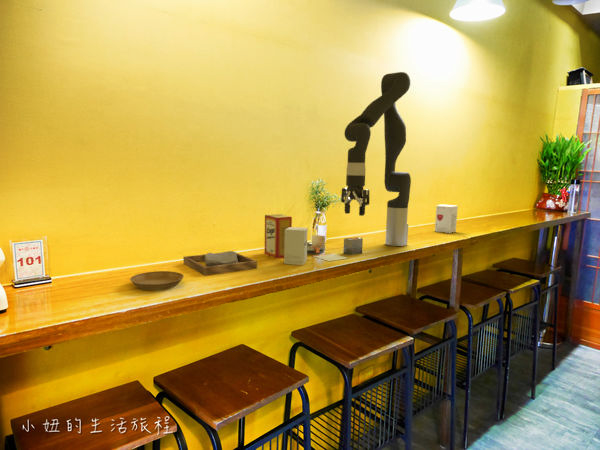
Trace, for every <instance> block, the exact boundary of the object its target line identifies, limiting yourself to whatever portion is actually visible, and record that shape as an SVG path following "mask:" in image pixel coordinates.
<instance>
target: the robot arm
mask: <svg viewBox="0 0 600 450" xmlns="http://www.w3.org/2000/svg"><path fill="white" fill-rule="evenodd" d="M380 82H381V84H380V89H381V90H380V91H381V95H380V96H378V97H377V98H375V99H374V100H373V101H372V102H370V103H369V104H368V105H367V106H366V107H365V109H364V110H363V111H362V112H361V114H360V115H358V116H357V117H355V118H354V119H353V120H351V121H350V122H349V123H348V124H347V126H346V127H345V129H344V137H345V138H344V139H346V141H348V142H352V143H355V145H354V146H352V147H351V148H348V151H347V163H346V177H345V178H346V179H345V182H346V183H345V185H346V186H347V187H342V188H341V197H340V198H341V199H340V202H341V203H343V204H344V214H347V215H348V214H350V213H351V202H352V201H353V200H355V202H357V203H358V204H359V207H358V216H361V217H362V216H365V214H366V206H368V205H370V189H364V187H365V186H366V153H367V149H368V147H369V142H370V140H371V135H372V134H371V133H372V132H371V131H372V130H371V128H373V127H374V126H375V125H376V124H377V123H378V121H379V120H380V119H381V117H382V116H383V122H384V128H383V129H384V132H383V133H384V149H385V150H384V151H385V153H384V154H385V155H384V156H385V161H384V162H385V163H384V179H383V180H384V181H383V182H384V188H385V190H386V191H387V192H389V193H398V195H397V197H395V198H393V199H389V200H387V202H386V203H387V204H386V223H385V240H384V243H385V245H386V246H392V247H404V246H406V245H408V239H409V237H408V236H409V235H408V234H409V224H408V212H409V209H408V207H409V202H410V193H411V186H412V185H411V184H412V178H411V174H410V173H409V172H406V171H396V162H397V159H398V157H399V156H400V154H401V152H402V150H403V149H404V147H405V145H406V143H407V127H406V124H405V121H404V120H403V118H402V115H401V114H400V113H399V110H398V109H397V105H396V103H397V102H398V100H400V99H401V98H402V97H403V96H404V95H406V93H408V91H409V89H410V87H411V78H410V76H409V74H408V73H407V72H405V71H399V72H398V71H397V72H391V73H386V74H384V75H383V77H382V78H381V81H380Z"/></svg>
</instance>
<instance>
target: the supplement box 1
mask: <svg viewBox="0 0 600 450" xmlns="http://www.w3.org/2000/svg"><path fill="white" fill-rule="evenodd" d="M308 230H309V229H308V227H295V226H292V227H289V228H287V229H286V230H285V240H284V258H283V265H284V264H285V265H296V266H303V265H304V264H305V263H306V262H307V261H308V260H307V258H308V254H307V242H308Z"/></svg>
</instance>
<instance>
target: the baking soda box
mask: <svg viewBox="0 0 600 450" xmlns="http://www.w3.org/2000/svg"><path fill="white" fill-rule="evenodd" d="M292 218H293V217H292V216H291V215H290V216H289V215H285V214H282V213H280V214H279V213H278V214H277V213H275V214H264V255H267V256H269V257H272V258H274V259H281V258H283V259H284V240H285V230H286V229H287V228H289V227H293V226H292V220H293V219H292Z"/></svg>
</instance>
